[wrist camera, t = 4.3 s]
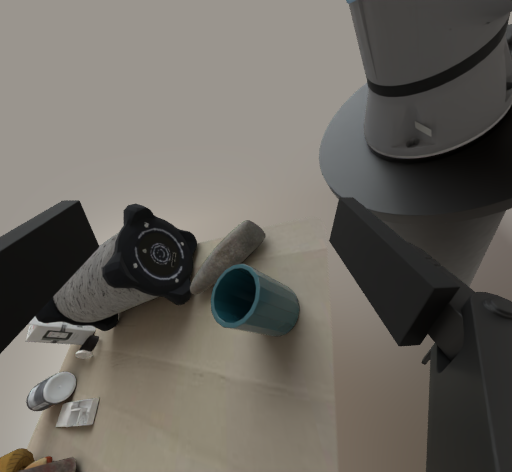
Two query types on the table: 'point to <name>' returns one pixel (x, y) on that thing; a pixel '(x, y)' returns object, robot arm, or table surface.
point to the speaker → (126, 273)
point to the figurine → (16, 461)
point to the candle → (55, 466)
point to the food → (40, 462)
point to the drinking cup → (253, 302)
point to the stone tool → (228, 254)
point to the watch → (87, 347)
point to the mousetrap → (78, 413)
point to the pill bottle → (51, 391)
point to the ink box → (58, 332)
